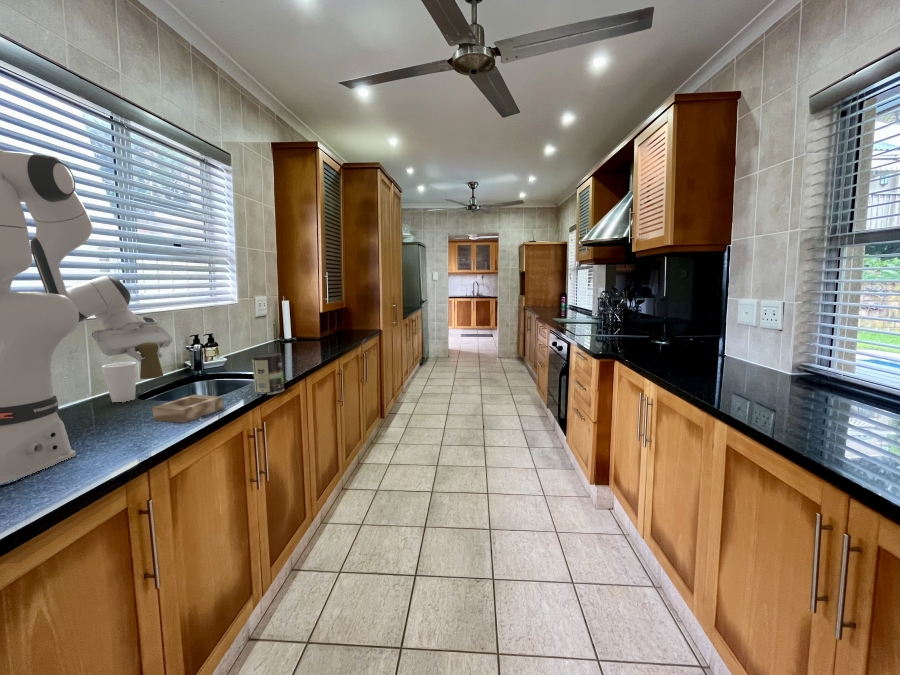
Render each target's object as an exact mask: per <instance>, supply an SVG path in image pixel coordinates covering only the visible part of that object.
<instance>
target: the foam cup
mask: <svg viewBox="0 0 900 675" xmlns="http://www.w3.org/2000/svg"><path fill="white" fill-rule="evenodd" d="M100 367H101V372H102V374H103V377H104V380H105V384H106V387H107V389H108V394H109V396H110V397H109V398H110V399H111V402H112V403H113V402H122V403H126V401H128V402H131V401H130V400H132V401H134V400H136V389H137V388H136V384H137V382H136V381H137V369H138V366H137V362H135V361H122V362H121V361H120V362H114V363H108V364H103V365H101V366H100Z"/></svg>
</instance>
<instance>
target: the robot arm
mask: <svg viewBox="0 0 900 675" xmlns="http://www.w3.org/2000/svg"><path fill="white" fill-rule="evenodd" d="M21 203H24V205H25V206H26V209H27V210H28V212H29V215H30V216H31V218H32V219H33V221H34V224H35V227H36V228H35V236H34V237H33V238H31V239H30V237H29V230H28V225H27V220H26V216H25V212H24V209H23V206H22V204H21ZM92 232H93V224H92V221H91V218H90V216H89V214H88V212H87V210H86V207H85V206H84V203H83V202H82V200H81V199H80V197H79V195H78V194H77V192H76V181H75V178H74V174H73V172H72V171H71V168H69V166H68V165H67V164H66V163H64V162H63V161H62V160H61V159H59V157H56V156H53V155H50V154H45V153H39V152H37V153H28V152H21V151H12V150H11V151H10V150H5V149H0V342H2V349H1V352H0V484H1V483H2V484H3V483H6V482H10V481H12V480H15V479H17V478H20V477H23V476H27V475H30V474H32V473H35V472H37V471H40V470H42V469H44V470H46V469H48V467H49V468H51V467H54V466H56V465H58V464H60V463H62V462H61V461H63V462H64V460H65V461H67V460H69V459H72V458H74V457H76V456H77V451H76V450H74V449H72V447H71V444H70V441H69V436H68V433H67V430H66V426H65V424H64V422H63V420H62V419H61V418H60V416H59V414H58V411H59V400H58V398H57V397H58V396H57V395H55V394H54V387H53V379H52V378H53V377H52V360H53V357H54V354H55V352H56V350H57V348H58V346H59V344H60V343H62V341H63V340H64V339H65V338H66V337H68V336H69V335H71V334H72V333H73V332H75V329H76V328H77V326H79V325H78V324H79V323H80V322H83V321H85V320H87V319H89V318H90V317H93V316H94V317H95V319H96V320H98V321H99V322H101V323H102V327H104V329H96V330H94V331H92V333H91V337H92V338H93V340H95V342H96V345H97V346H98V348H99V349H100V351H101V352H102V354H103V355H105V356H107V357H113V356H119V355H125V354H127V356H129V357H131V358H133V359H135V360H137V362H140V363H141V361H144V360H145V359H146V358H145V356H144V355H143V354H141V353H140V352H139V351H138V346H139V345H140V344H142V343H148V342H153V343H156V344H157V345H158V351H157V355H158V358H159V359H162V357H163V353H162V352H161V349H163V348H168V347H169V346H170V345H171V343H172V342H173V336H171V335H170V333H169V332H168V331H167V330H166V329H165V328H164V327H163V326H162V325H160V324H158V320H157V319H156V318H155V317H147V316H142V315H139V314H135V313H134V312H133V311H132V310H130V309H129V307H128V306H129V304H130V303H131V302H130V301H131V298H132V297H131V294H130V291H129V290H128V289H127V287H126V286H125V285H124V283H122V281H120V279H119V278H116V277H114V276H110V275H103V276H100V277H96V278H93V279H90V280H87V281H85V282H82V283H78V284H76V285H72V286H69V287H66V286H65V283H64V279H63V277H62V273H61V271H60V265H61V262H62V261H63V260H64V258H66V257H67V256H68V255H69V254H71V253H72V252H73V251H74V250H76V249H78V248H80V247H81V246H82V245H83V244H85V243H86V242H87V240H89V238H90V237H91V234H92ZM33 260H34V263H35V267H36V269H37V271H38V275H39V277H40V280H41V282H42V285H43V288H44V291H37V290H35V291H11V288H12V287H11V285H12V283H13V281H14V279H15V277H17V275H18V274H21V273H23V272H25V271H27V270H28V269H29V268H30V267H31V266H32V263H33ZM71 457H72V458H71ZM68 458H69V459H68ZM66 459H67V460H66ZM59 462H60V463H59ZM57 463H58V464H57ZM55 464H56V465H55ZM50 466H51V467H50ZM45 468H46V469H45ZM42 471H43V470H42ZM40 472H41V471H40ZM37 473H38V472H37ZM35 474H36V473H35ZM30 476H31V475H30Z"/></svg>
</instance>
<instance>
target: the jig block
mask: <svg viewBox="0 0 900 675" xmlns="http://www.w3.org/2000/svg"><path fill="white" fill-rule="evenodd" d="M151 407H152V416H153V421H162V422H170V423H171V422H172V423H178V422H186V423H188V422H187V421H189V422H191V421H194V420H196V418H197V419H200V418H202V417H201V416H203V415H205V416H207V415H206V414H208V413H211V412H214V411H216V412H218V411H217V410H219V411H221V410H220V409H222V408H223V409H224V400H223V396H214V395H203V394H192V395H188V396H184V397H182V398H177V399H175V400H170V401H168V402H165V403H160V404H157V405H155V406H154V405H153V406H151ZM223 409H222V410H223ZM214 413H215V412H214ZM211 414H212V413H211ZM208 415H209V414H208ZM199 417H200V418H199ZM203 417H204V416H203ZM193 419H194V420H193ZM190 420H191V421H190Z"/></svg>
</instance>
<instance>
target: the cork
mask: <svg viewBox="0 0 900 675" xmlns="http://www.w3.org/2000/svg"><path fill="white" fill-rule="evenodd" d="M138 351H139V352H138V353H139V354H143V355H144V356H145V358H146V359H145V360H144V361H141V362H140V370H139V371H140V372H139V373H140V374H139V378H140V380H149V379H150V380H151V379H157V378H162V377H164V373H163V369H162V366H161V362H160V358H158V355H157V351H158V345H157V344H156V343H153V342H148V343H142V344H140V345H139V346H138Z"/></svg>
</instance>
